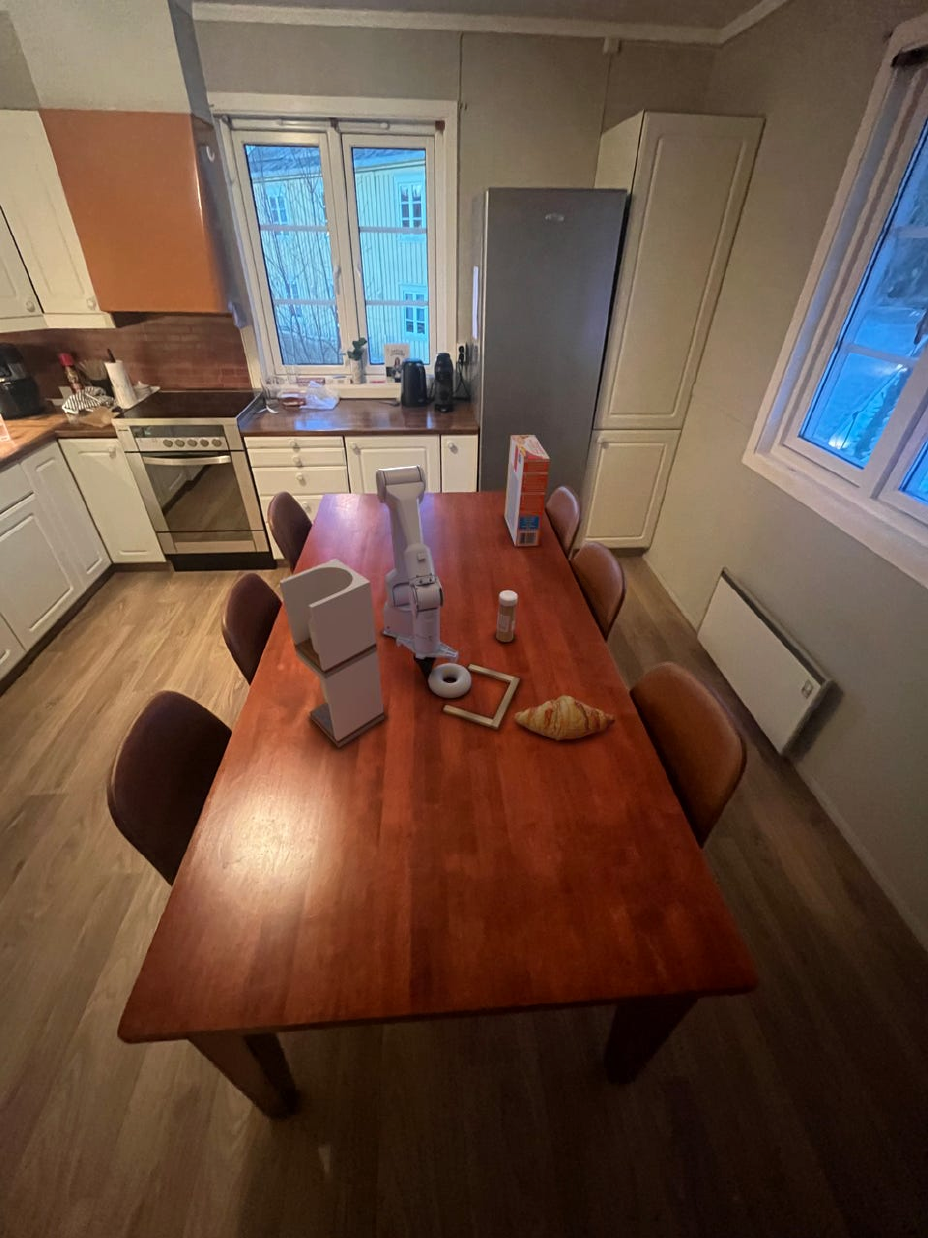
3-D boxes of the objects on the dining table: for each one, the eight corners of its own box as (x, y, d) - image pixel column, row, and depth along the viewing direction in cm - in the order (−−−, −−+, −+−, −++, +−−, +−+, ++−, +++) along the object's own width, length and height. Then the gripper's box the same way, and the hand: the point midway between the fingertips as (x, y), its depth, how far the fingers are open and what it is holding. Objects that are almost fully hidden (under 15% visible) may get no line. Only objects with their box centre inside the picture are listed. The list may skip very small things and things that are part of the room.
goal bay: (443, 711, 110) (443, 709, 109) (470, 666, 122) (470, 663, 121) (497, 729, 106) (497, 727, 106) (519, 681, 118) (519, 678, 118)
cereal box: (538, 545, 171) (550, 458, 153) (515, 546, 170) (523, 458, 152) (525, 516, 189) (534, 435, 171) (504, 516, 188) (510, 435, 170)
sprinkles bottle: (516, 639, 131) (521, 596, 122) (502, 645, 129) (506, 602, 120) (506, 629, 134) (510, 587, 125) (492, 635, 132) (495, 593, 123)
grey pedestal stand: (355, 692, 114) (335, 558, 93) (384, 718, 108) (370, 581, 87) (311, 718, 107) (279, 580, 86) (338, 747, 102) (311, 607, 80)
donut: (469, 670, 121) (427, 671, 120) (470, 659, 119) (427, 660, 118) (473, 701, 113) (428, 702, 112) (473, 690, 111) (428, 691, 110)
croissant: (513, 744, 108) (517, 736, 100) (512, 698, 112) (515, 688, 104) (612, 745, 107) (623, 737, 100) (607, 699, 112) (617, 688, 104)
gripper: (388, 631, 108) (392, 677, 117) (449, 649, 104) (449, 695, 112) (403, 614, 114) (406, 658, 122) (462, 630, 109) (461, 675, 118)
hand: (427, 675), depth 117 cm, fingers closed
